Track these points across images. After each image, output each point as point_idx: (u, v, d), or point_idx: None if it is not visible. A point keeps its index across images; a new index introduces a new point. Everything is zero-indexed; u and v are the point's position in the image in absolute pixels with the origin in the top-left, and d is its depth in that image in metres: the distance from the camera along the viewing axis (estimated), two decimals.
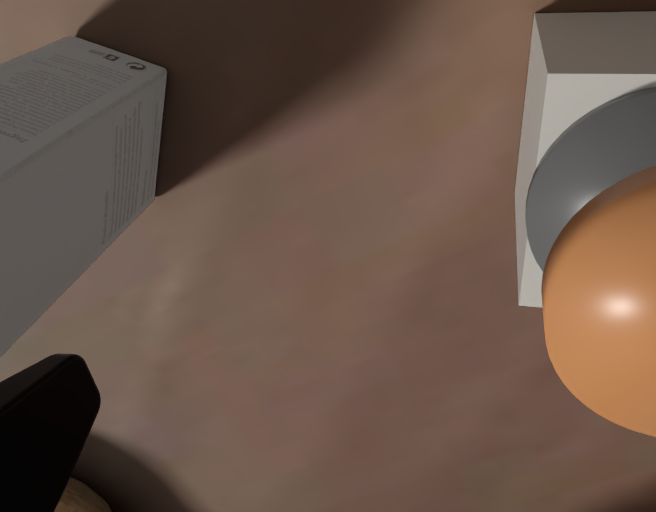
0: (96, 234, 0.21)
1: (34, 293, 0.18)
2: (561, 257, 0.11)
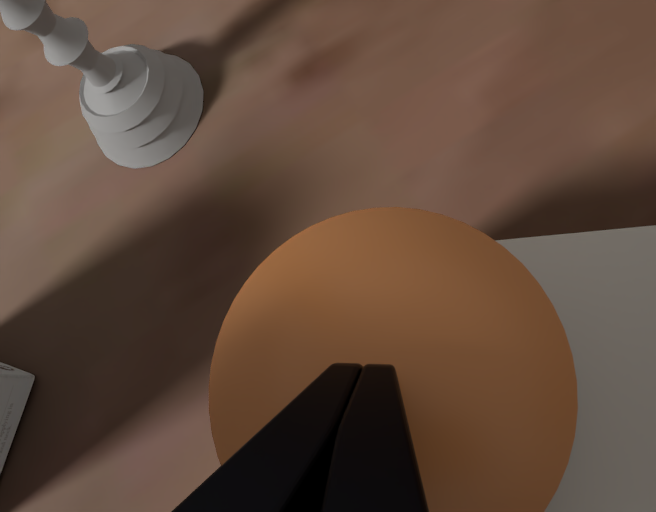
0: None
1: None
2: None
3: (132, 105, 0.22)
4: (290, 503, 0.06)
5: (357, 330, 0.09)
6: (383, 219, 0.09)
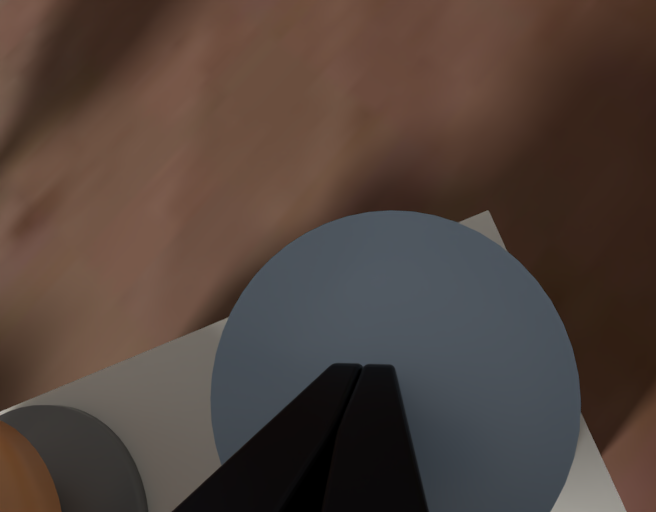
0: None
1: None
2: None
3: None
4: (290, 503, 0.06)
5: None
6: None
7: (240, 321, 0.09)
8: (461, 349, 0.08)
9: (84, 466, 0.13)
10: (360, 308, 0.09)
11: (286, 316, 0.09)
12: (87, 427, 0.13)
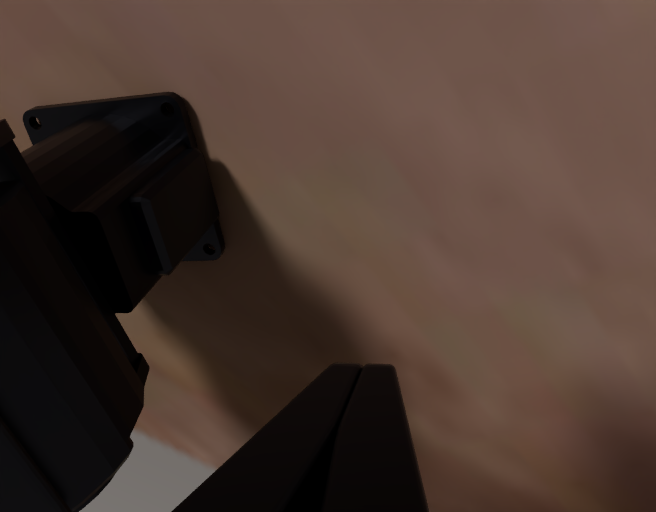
0: None
1: None
2: None
3: None
4: (290, 503, 0.06)
5: None
6: None
7: None
8: None
9: None
10: None
11: None
12: None
